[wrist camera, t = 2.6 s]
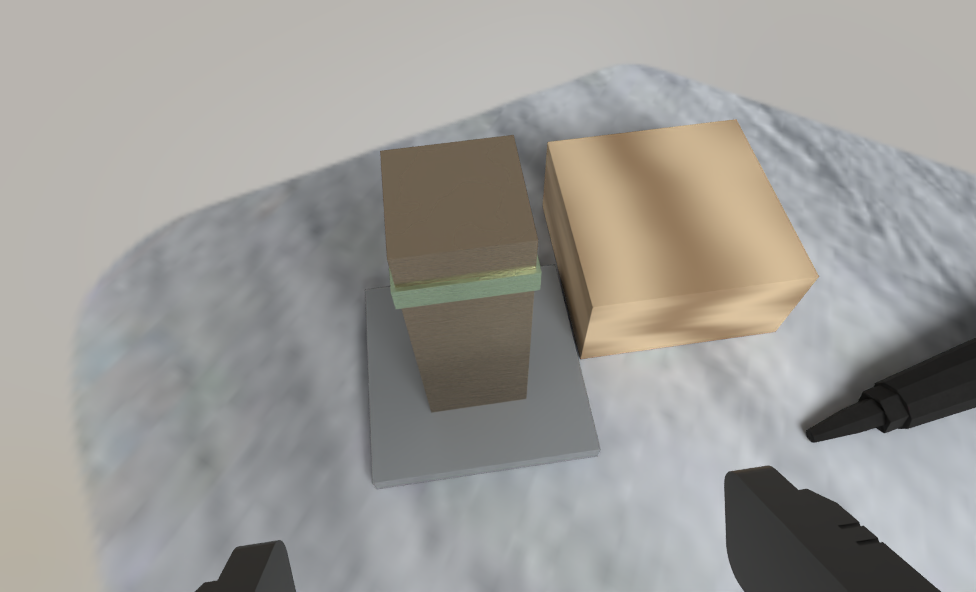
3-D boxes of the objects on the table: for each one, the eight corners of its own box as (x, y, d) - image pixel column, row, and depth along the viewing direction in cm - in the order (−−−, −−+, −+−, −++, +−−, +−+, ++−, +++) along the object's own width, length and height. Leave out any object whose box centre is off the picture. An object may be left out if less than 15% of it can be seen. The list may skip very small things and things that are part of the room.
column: (513, 314, 30) (517, 131, 20) (530, 401, 28) (544, 243, 17) (419, 326, 30) (375, 148, 20) (428, 416, 27) (382, 264, 17)
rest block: (708, 185, 36) (736, 119, 31) (775, 331, 30) (819, 276, 26) (542, 206, 35) (547, 142, 31) (580, 359, 30) (592, 307, 25)
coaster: (553, 275, 32) (555, 264, 32) (597, 456, 27) (600, 449, 26) (368, 299, 32) (365, 289, 31) (376, 488, 27) (372, 483, 26)
